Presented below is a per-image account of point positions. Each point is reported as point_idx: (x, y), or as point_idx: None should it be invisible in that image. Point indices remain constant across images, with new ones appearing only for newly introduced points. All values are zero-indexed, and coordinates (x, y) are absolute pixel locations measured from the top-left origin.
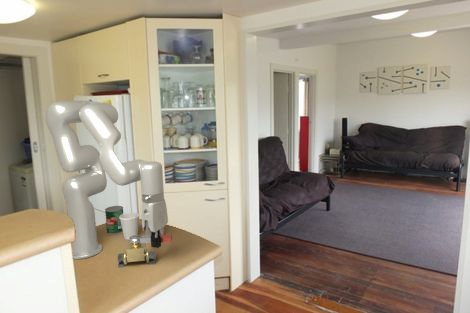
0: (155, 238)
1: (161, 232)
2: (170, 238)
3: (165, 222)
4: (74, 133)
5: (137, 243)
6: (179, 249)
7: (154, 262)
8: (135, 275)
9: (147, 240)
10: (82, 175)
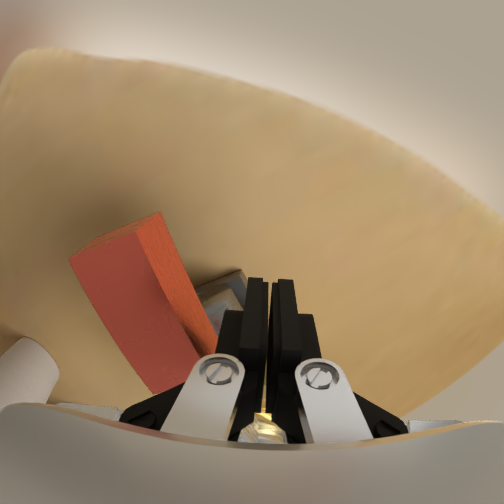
0: (322, 368)
1: (22, 350)
2: (143, 228)
3: (70, 471)
4: None
5: (276, 430)
6: (62, 219)
7: (241, 275)
8: (368, 302)
9: None
10: None
